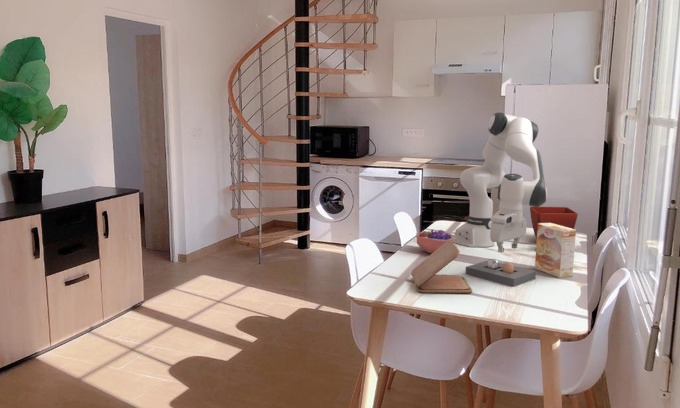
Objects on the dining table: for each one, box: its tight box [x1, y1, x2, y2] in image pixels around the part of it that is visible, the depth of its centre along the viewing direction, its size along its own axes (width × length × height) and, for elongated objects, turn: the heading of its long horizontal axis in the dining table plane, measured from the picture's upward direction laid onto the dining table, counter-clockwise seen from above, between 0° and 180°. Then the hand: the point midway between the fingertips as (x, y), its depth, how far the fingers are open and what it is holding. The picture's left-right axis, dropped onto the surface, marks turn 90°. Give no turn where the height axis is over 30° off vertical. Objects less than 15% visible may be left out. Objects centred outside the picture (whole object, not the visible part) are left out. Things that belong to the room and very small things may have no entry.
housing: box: [465, 259, 537, 287], centre depth 223 cm, size 22×16×3 cm
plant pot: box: [529, 206, 578, 240], centre depth 282 cm, size 19×19×17 cm
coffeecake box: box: [534, 223, 577, 279], centre depth 228 cm, size 15×7×20 cm, turn 20°
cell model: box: [415, 229, 456, 254], centre depth 260 cm, size 17×20×11 cm
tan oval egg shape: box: [502, 261, 515, 274], centre depth 220 cm, size 4×4×6 cm
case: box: [410, 241, 473, 294], centre depth 209 cm, size 20×21×16 cm
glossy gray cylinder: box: [487, 258, 499, 270], centre depth 225 cm, size 4×4×6 cm
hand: (507, 250), depth 219 cm, fingers open, 8 cm apart
